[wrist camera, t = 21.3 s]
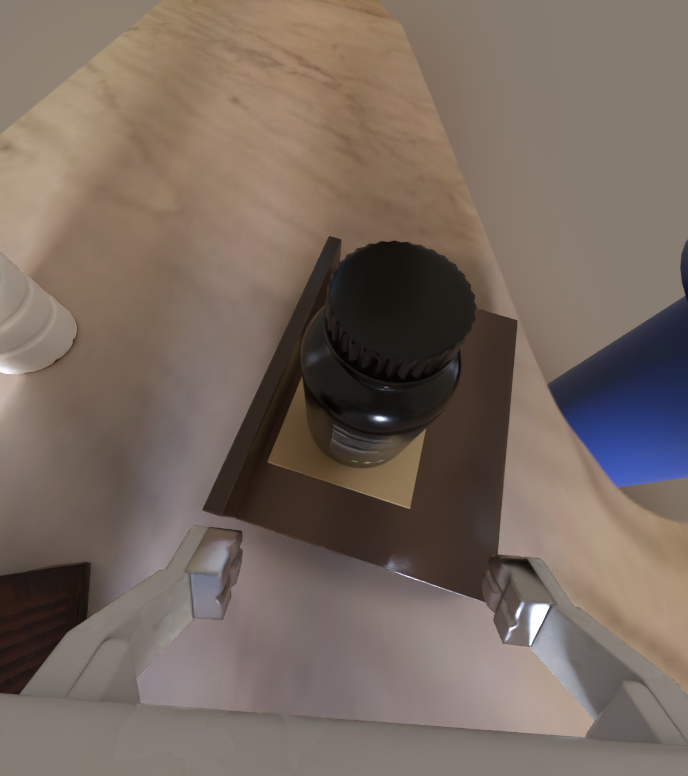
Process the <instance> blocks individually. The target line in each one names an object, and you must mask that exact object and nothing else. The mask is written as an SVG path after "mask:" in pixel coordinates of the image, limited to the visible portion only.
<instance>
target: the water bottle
mask: <svg viewBox="0 0 688 776" xmlns="http://www.w3.org/2000/svg"><path fill="white" fill-rule="evenodd" d="M76 334H77V325H76V322H75V320H74V317H73V316H72V314H71V313H70V312H69V311H68V310H67V309H66V308H65V307H63V306H62V305H61V304H60V303H59V302H58V301H57V300H56V299H54V298H53V297H52V296H51V295H50V294H48V293H47V292H45V291H44V290H43V289H42V288H41V287H40V286H39V285H38V284H37V283H36V282H35V281H34V280H33V279H31V278H30V277H29V276H28V275H26V274H25V273H23V272H22V271H21V270H20V269H19V268H18V267H17V266H16V265H15V264H14V263H13V262H12V261H11V260H10V259H8V258H7V257H6V256H5V255H4V254H3V253H1V252H0V372H2V373H7V374H25V373H26V372H35V371H38V370H41V369H43V368H46V367H48V366H50V365H51V364H53V363H54V361H55V360H56V359H59V358H61V357H62V356H64V355H65V354H66V352H67V351H68V350H69V349H70V348H71V346H72V344H73V339H75V337H76Z"/></svg>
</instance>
